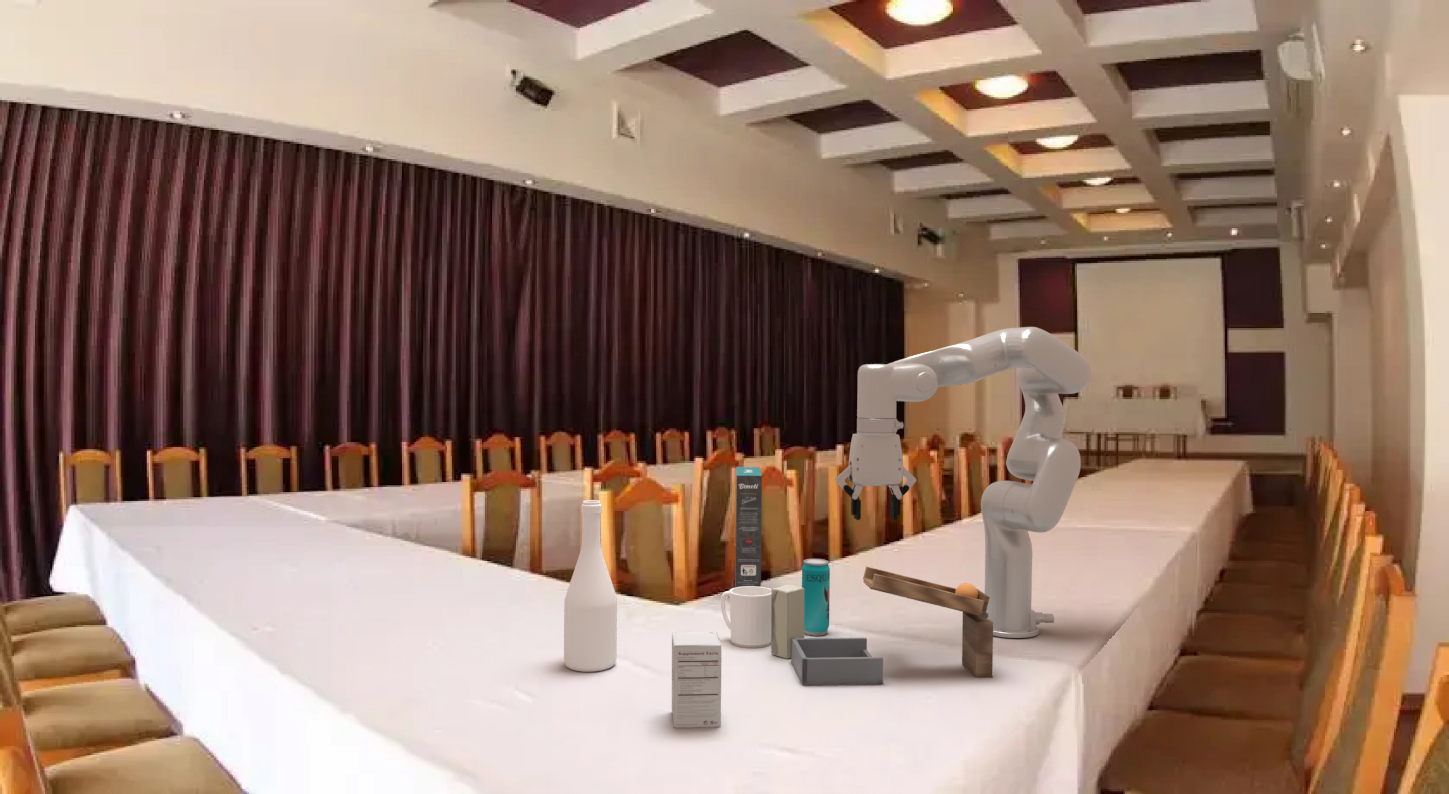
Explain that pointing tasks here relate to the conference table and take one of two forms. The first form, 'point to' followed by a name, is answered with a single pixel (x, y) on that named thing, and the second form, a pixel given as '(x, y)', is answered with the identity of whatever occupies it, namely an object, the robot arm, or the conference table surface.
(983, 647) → the post
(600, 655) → the wine bottle
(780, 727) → the conference table surface
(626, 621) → the conference table surface
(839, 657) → the tray
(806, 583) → the beverage can
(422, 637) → the conference table surface
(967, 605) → the lever
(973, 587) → the ball
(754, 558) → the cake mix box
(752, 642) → the mug
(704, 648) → the supplement box
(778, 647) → the box
